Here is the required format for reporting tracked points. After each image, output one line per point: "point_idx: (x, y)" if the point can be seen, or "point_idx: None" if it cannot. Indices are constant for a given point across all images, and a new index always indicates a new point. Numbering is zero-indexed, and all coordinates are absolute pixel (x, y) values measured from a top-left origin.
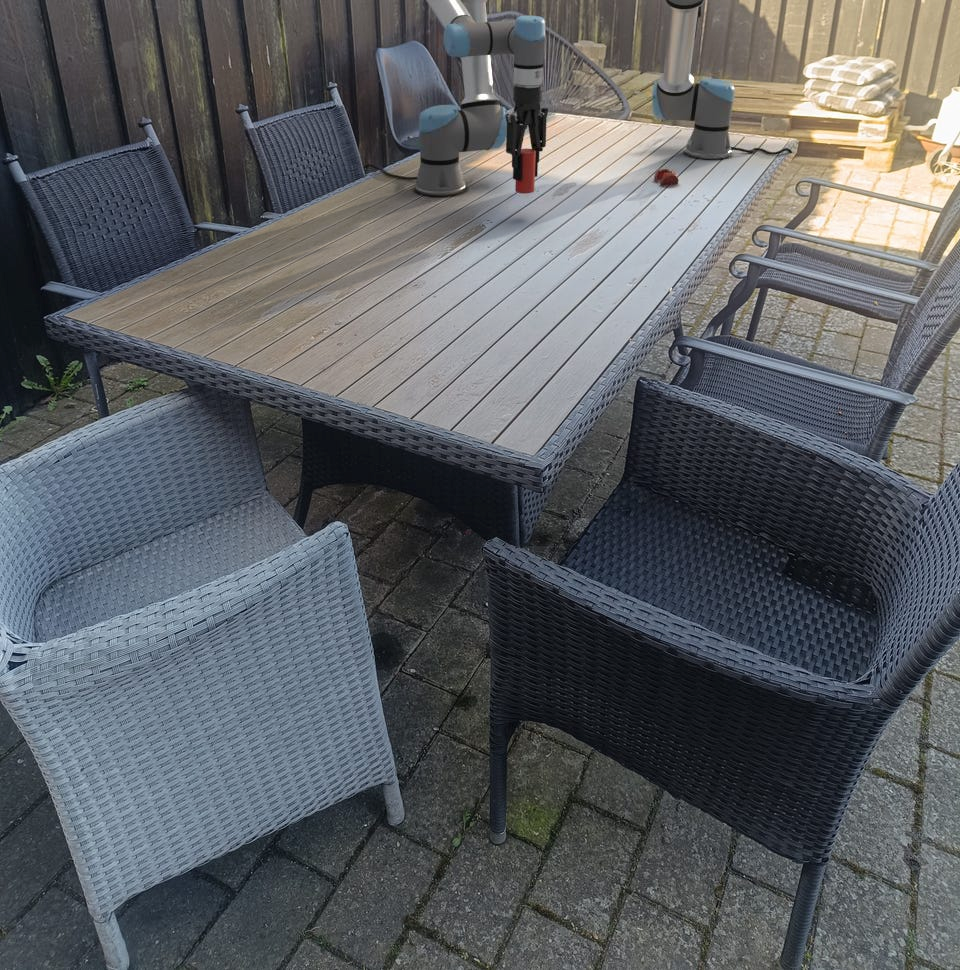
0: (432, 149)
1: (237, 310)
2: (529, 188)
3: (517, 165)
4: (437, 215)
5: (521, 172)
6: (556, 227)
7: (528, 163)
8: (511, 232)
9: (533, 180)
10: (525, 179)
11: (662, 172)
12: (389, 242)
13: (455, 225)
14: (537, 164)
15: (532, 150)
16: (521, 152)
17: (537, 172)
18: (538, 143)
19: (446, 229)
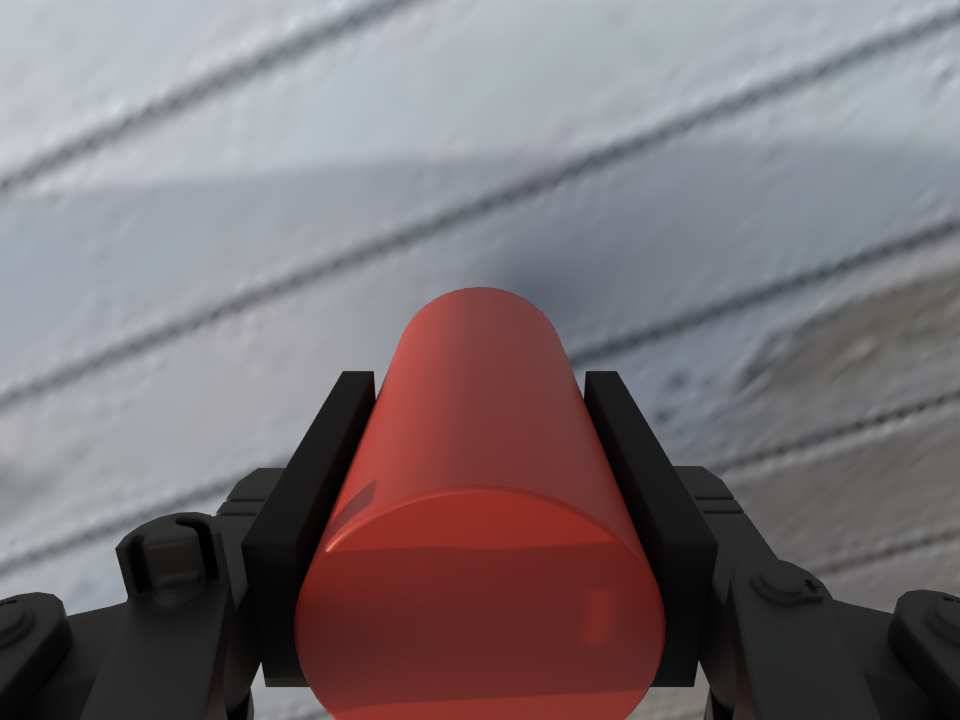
0: None
1: None
2: (506, 300)
3: (686, 484)
4: None
5: (611, 410)
6: (434, 8)
7: (552, 416)
8: (739, 160)
9: (447, 323)
10: (553, 353)
11: None
12: None
13: (849, 473)
14: (312, 433)
15: (360, 601)
16: (623, 630)
17: (333, 388)
18: (156, 685)
19: (935, 457)
